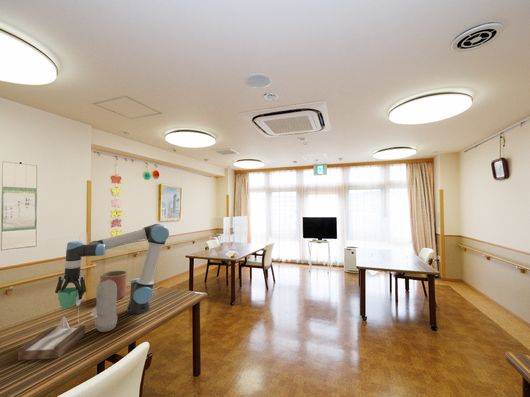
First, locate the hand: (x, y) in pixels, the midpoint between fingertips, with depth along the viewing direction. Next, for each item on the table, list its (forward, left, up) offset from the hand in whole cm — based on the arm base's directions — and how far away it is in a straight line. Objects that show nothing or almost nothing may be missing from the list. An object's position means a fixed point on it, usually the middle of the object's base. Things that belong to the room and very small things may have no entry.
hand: (69, 304), depth 146 cm
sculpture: (-21, -1, -16) cm, 26 cm away
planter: (-1, -55, -16) cm, 57 cm away
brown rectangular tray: (-3, +16, -16) cm, 23 cm away
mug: (-1, 0, -1) cm, 1 cm away
